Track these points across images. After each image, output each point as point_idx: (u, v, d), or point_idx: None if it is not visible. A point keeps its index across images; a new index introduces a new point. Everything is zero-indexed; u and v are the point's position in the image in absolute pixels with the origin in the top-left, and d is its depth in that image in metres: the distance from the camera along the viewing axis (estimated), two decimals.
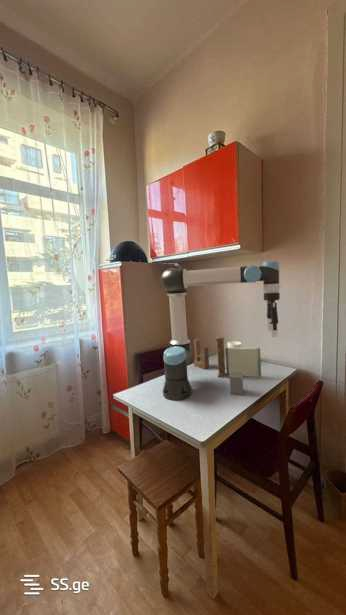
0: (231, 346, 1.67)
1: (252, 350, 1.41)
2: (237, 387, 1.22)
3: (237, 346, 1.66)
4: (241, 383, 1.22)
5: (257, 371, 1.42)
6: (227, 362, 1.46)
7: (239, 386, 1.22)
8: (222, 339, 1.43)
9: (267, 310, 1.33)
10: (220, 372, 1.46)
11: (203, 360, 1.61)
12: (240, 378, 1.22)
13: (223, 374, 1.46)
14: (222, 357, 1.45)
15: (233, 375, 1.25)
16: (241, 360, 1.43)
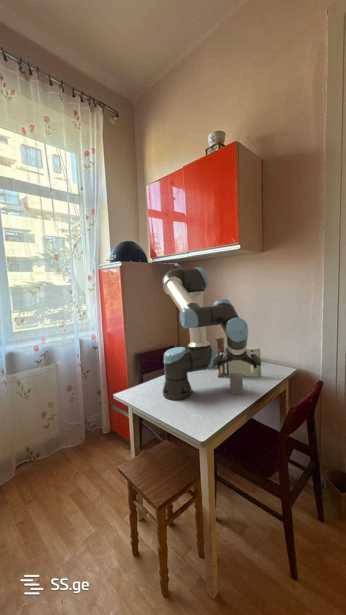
0: None
1: None
2: (237, 387, 1.22)
3: None
4: (241, 383, 1.22)
5: (257, 371, 1.42)
6: (227, 362, 1.46)
7: (239, 386, 1.22)
8: (222, 339, 1.43)
9: None
10: (220, 372, 1.46)
11: None
12: (240, 378, 1.22)
13: (223, 374, 1.46)
14: None
15: (233, 375, 1.25)
16: (241, 360, 1.43)
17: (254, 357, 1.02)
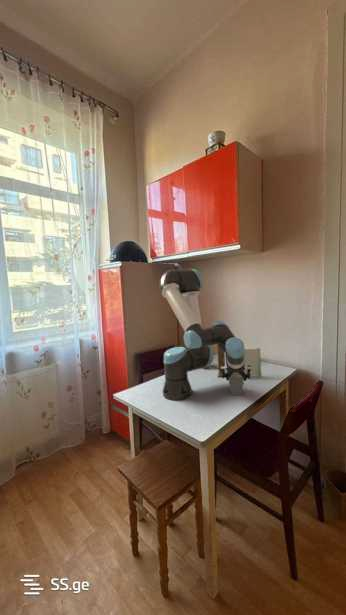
0: None
1: (252, 350, 1.41)
2: (237, 386, 1.22)
3: None
4: (241, 383, 1.22)
5: (257, 371, 1.42)
6: None
7: (239, 386, 1.22)
8: None
9: None
10: (220, 372, 1.46)
11: None
12: (240, 378, 1.22)
13: None
14: (222, 357, 1.45)
15: (233, 374, 1.25)
16: None
17: (249, 371, 1.16)
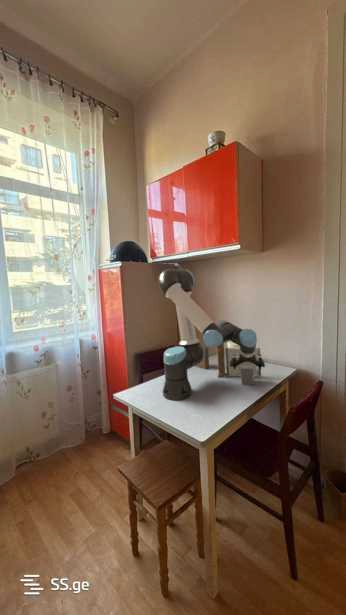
0: (231, 346, 1.67)
1: None
2: (248, 377, 1.33)
3: (237, 346, 1.66)
4: (252, 374, 1.32)
5: None
6: (227, 362, 1.46)
7: (249, 377, 1.33)
8: None
9: None
10: (220, 372, 1.46)
11: (203, 360, 1.61)
12: (251, 369, 1.32)
13: (223, 374, 1.46)
14: (222, 357, 1.45)
15: (244, 366, 1.36)
16: None
17: (261, 360, 1.26)
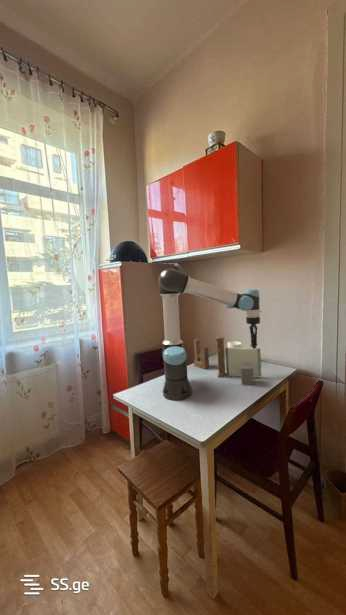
0: (231, 346, 1.67)
1: (253, 351, 1.41)
2: (248, 377, 1.33)
3: (237, 346, 1.66)
4: (252, 374, 1.32)
5: (257, 372, 1.41)
6: (227, 362, 1.46)
7: (249, 377, 1.33)
8: (222, 339, 1.43)
9: None
10: (220, 372, 1.46)
11: (203, 360, 1.61)
12: (251, 369, 1.32)
13: (223, 374, 1.46)
14: (222, 357, 1.45)
15: (244, 366, 1.36)
16: (241, 360, 1.43)
17: None
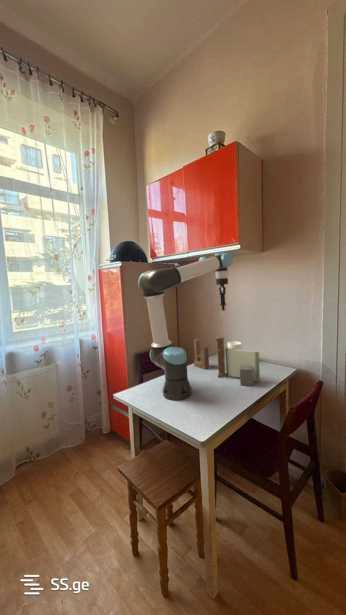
0: (231, 346, 1.67)
1: (250, 354, 1.36)
2: (247, 378, 1.32)
3: (237, 346, 1.66)
4: (250, 375, 1.31)
5: (255, 376, 1.36)
6: (226, 362, 1.45)
7: (248, 378, 1.32)
8: (222, 339, 1.43)
9: None
10: (220, 372, 1.46)
11: (203, 360, 1.61)
12: (249, 370, 1.31)
13: (223, 374, 1.46)
14: (222, 357, 1.45)
15: (243, 367, 1.35)
16: (240, 362, 1.40)
17: None
